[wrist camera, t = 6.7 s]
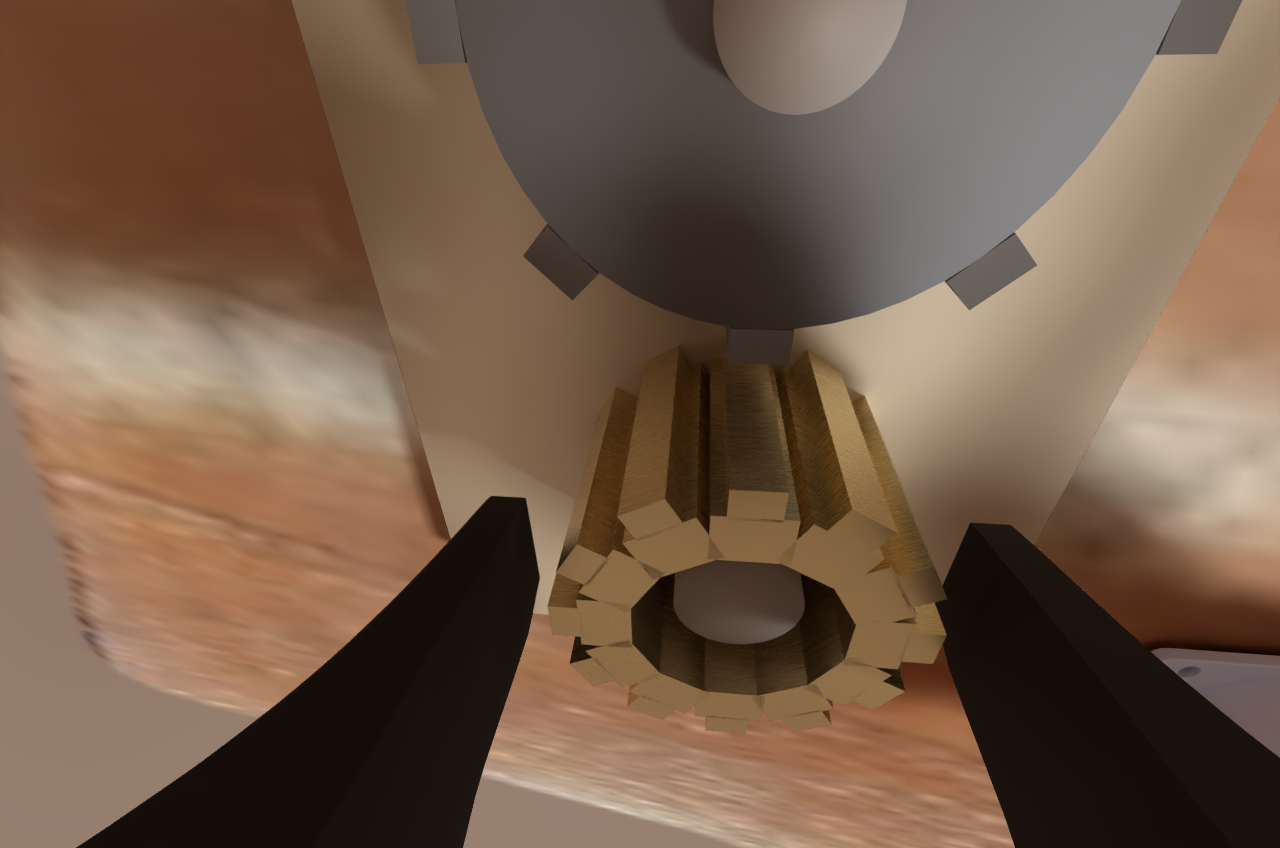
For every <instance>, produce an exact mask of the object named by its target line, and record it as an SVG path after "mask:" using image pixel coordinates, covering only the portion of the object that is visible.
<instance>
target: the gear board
mask: <svg viewBox="0 0 1280 848" xmlns="http://www.w3.org/2000/svg"><path fill="white" fill-rule="evenodd" d="M291 1H292V4H293V8H294V11H295V15H296V18H297V21H298V25H299V28H300V32H301V35H302V38H303V42H304V45H305V48H306V52H307V55H308V59H309V62H310V65H311V69H312V72H313V75H314V79H315V82H316V86H317V89H318V92H319V96H320V99H321V102H322V106H323V109H324V113H325V116H326V119H327V123H328V126H329V129H330V133H331V136H332V140H333V143H334V146H335V150H336V153H337V157H338V160H339V163H340V167H341V170H342V173H343V177H344V180H345V184H346V187H347V190H348V194H349V197H350V200H351V204H352V207H353V211H354V214H355V217H356V221H357V224H358V227H359V231H360V234H361V238H362V241H363V244H364V248H365V251H366V254H367V258H368V261H369V265H370V268H371V271H372V275H373V278H374V282H375V285H376V288H377V292H378V295H379V298H380V302H381V305H382V309H383V312H384V315H385V319H386V322H387V325H388V329H389V332H390V336H391V339H392V342H393V346H394V349H395V352H396V356H397V359H398V363H399V366H400V369H401V373H402V376H403V379H404V383H405V386H406V390H407V393H408V396H409V400H410V403H411V406H412V410H413V413H414V417H415V420H416V423H417V427H418V430H419V434H420V437H421V440H422V444H423V447H424V450H425V454H426V457H427V461H428V464H429V467H430V471H431V474H432V477H433V481H434V484H435V488H436V491H437V494H438V498H439V501H440V504H441V508H442V511H443V515H444V518H445V521H446V525H447V528H448V531H449V535H450V538H452V537H453V536H454V535H455V534H456V533H457V532H458V531H459V530H460V529H461V527H462V526H463V525H464V524H465V523H466V522H467V521H468V520H469V518H470V517H471V516H472V515H473V514H474V513H475V512H476V511H477V510H478V508H479V507H480V506H481V505H482V504H483V503H484V502H485V501H486V500H487V499H488V498H489V497H490V496H503V497H521V498H526V501H527V507H528V513H529V518H530V524H531V529H532V535H533V541H534V546H535V552H536V558H537V563H538V569H539V575H540V581H539V585H538V590H537V595H536V600H535V605H534V610H533V613H534V614H548V615H549V613H548V607H547V606H548V602H549V598H550V594H551V591H552V587H553V583H554V580H555V576H556V570H557V566H558V563H559V559H560V555H561V552H562V548H563V544H564V541H565V537H566V533H567V530H568V526H569V522H570V519H571V515H572V511H573V508H574V504H575V500H576V496H577V493H578V489H579V485H580V482H581V478H582V474H583V471H584V467H585V463H586V460H587V456H588V452H589V449H590V445H591V441H592V438H593V434H594V430H595V427H596V423H597V419H598V416H599V412H600V410H601V409H602V407H603V406H604V404H605V403H606V401H607V400H608V398H609V396H610V395H611V393H612V392H613V390H614V389H615V387H618V388H620V389H622V390H624V391H626V392H628V393H630V394H632V395H633V396H635V397H637V396H638V394H639V393H640V388H641V383H642V377H643V372H644V366H645V361H647V360H649V359H651V358H653V357H655V356H658V355H660V354H662V353H664V352H666V351H668V350H670V349H672V348H674V347H676V346H680V348H681V349H682V351H683V353H684V354H685V356H686V358H687V359H688V361H689V363H690V364H694V363H696V362H698V361H700V360H701V362H702V363H703V365H704V367H705V368H706V370H707V372H708V373H710V358H714V359H722V347H723V336H726V346H727V363H733V364H763V365H773V367H774V372H775V371H776V370H777V368H778V367H779V366H780V365H786V366H788V367H790V368H792V367H793V365H794V364H795V363H796V362H797V361H798V360H799V358H800V357H801V356H802V355H803V354H804V353H805V351H806V350H809V351H811V352H812V353H814V354H816V355H818V356H819V357H821V358H823V359H824V360H826V361H828V362H830V363H831V364H833V365H835V366H836V367H838V368H839V369H840V372H841V375H842V378H843V381H844V383H845V386H846V389H847V392H848V395H849V398H850V400H851V401H854V400H856V399H859V398H861V397H864V396H865V397H866V399H867V401H868V404H869V406H870V408H871V410H872V413H873V415H874V417H875V419H876V422H877V424H878V426H879V429H880V431H881V434H882V436H883V439H884V441H885V444H886V446H887V449H888V451H889V454H890V456H891V459H892V461H893V464H894V466H895V469H896V471H897V474H898V476H899V479H900V481H901V484H902V486H903V489H904V491H905V494H906V496H907V499H908V501H909V504H910V506H911V509H912V511H913V514H914V516H915V519H916V521H917V524H918V526H919V529H920V531H921V534H922V537H923V539H924V542H925V544H926V547H927V549H928V552H929V554H930V557H931V559H932V562H933V564H934V567H935V569H936V572H937V574H938V577H939V579H940V582H941V584H942V585H943V583H944V581H945V579H946V576H947V574H948V572H949V569H950V567H951V565H952V563H953V560H954V558H955V556H956V554H957V551H958V549H959V547H960V544H961V542H962V540H963V538H964V535H965V533H966V531H967V529H968V526H969V524H970V523H987V524H1005V525H1012V526H1013V527H1014V528H1015V529H1016V530H1017V531H1018V532H1020V533H1021V534H1022V535H1023V536H1024V537H1025V538H1026V539H1028V540H1029V541H1030V542H1031V543H1032V544H1033V545H1035V543H1036V541H1037V539H1038V538H1039V536H1040V534H1041V532H1042V530H1043V529H1044V527H1045V525H1046V523H1047V521H1048V519H1049V518H1050V516H1051V514H1052V512H1053V510H1054V508H1055V507H1056V505H1057V503H1058V501H1059V499H1060V497H1061V496H1062V494H1063V492H1064V490H1065V488H1066V487H1067V485H1068V483H1069V481H1070V479H1071V477H1072V476H1073V474H1074V472H1075V470H1076V468H1077V466H1078V465H1079V463H1080V461H1081V459H1082V457H1083V455H1084V454H1085V452H1086V450H1087V448H1088V446H1089V445H1090V443H1091V441H1092V439H1093V437H1094V435H1095V434H1096V432H1097V430H1098V428H1099V426H1100V424H1101V423H1102V421H1103V419H1104V417H1105V415H1106V413H1107V412H1108V410H1109V408H1110V406H1111V404H1112V403H1113V401H1114V399H1115V397H1116V395H1117V393H1118V392H1119V390H1120V388H1121V386H1122V384H1123V382H1124V381H1125V379H1126V377H1127V375H1128V373H1129V372H1130V370H1131V368H1132V366H1133V364H1134V362H1135V361H1136V359H1137V357H1138V355H1139V353H1140V351H1141V350H1142V348H1143V346H1144V344H1145V342H1146V340H1147V339H1148V337H1149V335H1150V333H1151V331H1152V330H1153V328H1154V326H1155V324H1156V322H1157V320H1158V319H1159V317H1160V315H1161V313H1162V311H1163V309H1164V308H1165V306H1166V304H1167V302H1168V300H1169V298H1170V297H1171V295H1172V293H1173V291H1174V289H1175V288H1176V286H1177V284H1178V282H1179V280H1180V278H1181V277H1182V275H1183V273H1184V271H1185V269H1186V267H1187V266H1188V264H1189V262H1190V260H1191V258H1192V256H1193V255H1194V253H1195V251H1196V249H1197V247H1198V246H1199V244H1200V242H1201V240H1202V238H1203V236H1204V235H1205V233H1206V231H1207V229H1208V227H1209V225H1210V224H1211V222H1212V220H1213V218H1214V216H1215V214H1216V213H1217V211H1218V209H1219V207H1220V205H1221V204H1222V202H1223V200H1224V198H1225V196H1226V194H1227V193H1228V191H1229V189H1230V187H1231V185H1232V183H1233V182H1234V180H1235V178H1236V176H1237V174H1238V172H1239V171H1240V169H1241V167H1242V165H1243V163H1244V162H1245V160H1246V158H1247V156H1248V154H1249V152H1250V151H1251V149H1252V147H1253V145H1254V143H1255V141H1256V140H1257V138H1258V136H1259V134H1260V132H1261V130H1262V129H1263V127H1264V125H1265V123H1266V121H1267V120H1268V118H1269V116H1270V114H1271V112H1272V110H1273V109H1274V107H1275V105H1276V103H1277V101H1278V99H1279V98H1280V0H291ZM934 603H935V602H934ZM673 604H674V609H675V612H676V614H677V616H678V618H679V619H680V620H681V622H682V623H683V624H684V625H685V626H686V627H688V628H689V629H690V630H692V631H693V632H695V633H696V634H698V635H701V636H703V637H705V638H708V639H711V640H714V641H718V642H723V643H730V644H752V643H759V642H764V641H768V640H771V639H774V638H776V637H779V636H781V635H783V634H785V633H786V632H788V631H789V630H791V629H792V628H793V627H794V626H795V625H796V624H797V623H798V622H799V620H800V619H801V617H802V615H803V612H804V607H805V601H804V594H803V588H802V581H801V575H800V572H798V571H796V570H794V569H791V568H789V567H787V566H785V565H783V564H773V563H758V562H742V561H727V560H714V561H711V562H708V563H705V564H702V565H698V566H695V567H692V568H689V569H686V570H682V571H679V572H676V573H675V582H674V598H673Z"/></svg>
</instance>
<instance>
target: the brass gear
mask: <svg viewBox="0 0 1280 848" xmlns="http://www.w3.org/2000/svg"><path fill="white" fill-rule="evenodd" d="M714 560H727V561H742V562H758V563H773V564H783V565H785V566H787V567H789V568H791V569H794V570H796V571H798V572H800V575H801V581H802V588H803V594H804V601H805V607H804V612H803V615H802V617H801V619H800V620H799V622H798V623H797V624H796V625H795V626H794V627H793V628H792V629H791V630H789V631H788V632H786V633H785V634H783V635H781V636H779V637H776V638H774V639H771V640H768V641H764V642H759V643H752V644H730V643H723V642H718V641H714V640H711V639H708V638H705V637H703V636H701V635H698V634H696V633H695V632H693V631H692V630H690V629H689V628H688V627H686V626H685V625H684V624H683V623H682V622H681V620H680V619H679V618H678V616H677V614H676V612H675V609H674V604H673V598H674V582H675V573H676V572H679V571H682V570H686V569H689V568H692V567H695V566H698V565H702V564H705V563H708V562H711V561H714ZM946 599H947V597H946V594H945V592H944V589H943V587H942V584H941V582H940V579H939V577H938V574H937V572H936V569H935V567H934V564H933V562H932V559H931V557H930V554H929V552H928V549H927V547H926V544H925V542H924V539H923V537H922V534H921V531H920V529H919V526H918V524H917V521H916V519H915V516H914V514H913V511H912V509H911V506H910V504H909V501H908V499H907V496H906V494H905V491H904V489H903V486H902V484H901V481H900V479H899V476H898V474H897V471H896V469H895V466H894V464H893V461H892V459H891V456H890V454H889V451H888V449H887V446H886V444H885V441H884V439H883V436H882V434H881V431H880V429H879V426H878V424H877V422H876V419H875V417H874V415H873V413H872V410H871V408H870V406H869V404H868V401H867V399H866V397H865V396H864V397H861V398H859V399H856V400H854V401H851V400H850V398H849V395H848V392H847V389H846V386H845V383H844V381H843V378H842V375H841V372H840V369H839V368H838V367H836V366H835V365H833V364H831V363H830V362H828V361H826V360H824V359H823V358H821V357H819V356H818V355H816V354H814V353H812V352H811V351H809V350H806V351H805V353H804V354H803V355H802V356H801V357H800V358H799V360H798V361H797V362H796V363H795V364H794V365H793V367H792V368H790V367H788V366H786V365H780V366H779V367H778V368H777V370H776V371H775V372H774V367H773V365H763V364H733V363H727V346H726V336H723V347H722V359H714V358H710V373H708V372H707V370H706V368H705V367H704V365H703V363H702V362H701V360H700V361H698V362H696V363H694V364H690V363H689V361H688V359H687V358H686V356H685V354H684V353H683V351H682V349H681V348H680V346H676V347H674V348H672V349H670V350H668V351H666V352H664V353H662V354H660V355H658V356H655V357H653V358H651V359H649V360H647V361H645V366H644V372H643V377H642V383H641V388H640V393H639V394H638V396H637V397H635V396H633V395H632V394H630V393H628V392H626V391H624V390H622V389H620V388H618V387H615V389H614V390H613V392H612V393H611V395H610V396H609V398H608V400H607V401H606V403H605V404H604V406H603V407H602V409H601V410H600V412H599V416H598V419H597V423H596V427H595V430H594V434H593V438H592V441H591V445H590V449H589V452H588V456H587V460H586V463H585V467H584V471H583V474H582V478H581V482H580V485H579V489H578V493H577V496H576V500H575V504H574V508H573V511H572V515H571V519H570V522H569V526H568V530H567V533H566V537H565V541H564V544H563V548H562V552H561V555H560V559H559V563H558V566H557V570H556V576H555V580H554V583H553V587H552V591H551V594H550V598H549V602H548V606H547V607H548V613H549V619H550V625H551V630H552V635H565V636H575V641H574V645H573V650H572V655H571V660H570V665H571V666H572V667H573V668H574V669H575V670H577V671H578V672H579V673H580V674H581V675H582V676H583V677H584V678H585V679H586V680H587V681H588V682H589V683H590V684H591V685H592V686H596V685H600V684H604V683H608V682H612V681H616V682H617V683H618V684H619V685H620V686H621V687H624V686H628V685H630V689H629V697H628V706H627V707H629V708H632V709H634V710H637V711H639V712H642V713H645V714H647V715H650V716H652V717H655V718H657V719H660V720H663V719H664V718H666V717H667V716H668V715H669V714H671V713H672V712H673V711H674V710H677V711H680V712H682V713H685V714H686V713H687V712H688V711H689V710H691V709H692V708H693V707H695V716H701V717H706V730H709V731H720V732H731V733H742V734H746V729H747V723H748V721H757V722H760V718H761V713H762V712H763V713H764V714H765V715H766V716H767V718H768V719H769V720H770V721H774V720H779V719H782V720H783V722H784V723H785V724H786V725H787V726H788V728H789V729H790V730H791V731H792V732H794V731H800V730H805V729H811V728H816V727H822V726H827V725H831V719H830V713H829V710H831V709H833V703H832V701H833V702H836V703H838V704H840V705H845V704H846V703H848V702H850V701H851V700H852V701H854V702H856V703H858V704H861V705H863V706H865V707H868V708H870V709H872V710H874V709H876V708H878V707H879V706H881V705H883V704H885V703H886V702H888V701H890V700H891V699H893V698H895V697H896V696H898V695H900V694H902V693H903V692H905V689H904V685H903V682H902V678H901V675H900V671H899V666H900V663H901V662H914V663H927V664H933V663H934V661H935V659H936V657H937V655H938V652H939V650H940V648H941V646H942V644H943V642H944V640H945V638H946V636H947V635H946V632H945V629H944V627H943V624H942V621H941V619H940V616H939V613H938V611H937V608H936V605H935V603H934V602H938V601H942V600H946Z"/></svg>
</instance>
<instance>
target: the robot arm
mask: <svg viewBox="0 0 1280 848" xmlns="http://www.w3.org/2000/svg"><path fill="white" fill-rule="evenodd" d="M539 581H540V575H539V569H538V563H537V558H536V552H535V546H534V541H533V535H532V529H531V524H530V518H529V513H528V507H527V501H526V498H521V497H503V496H490V497H489V498H488V499H487V500H486V501H485V502H484V503H483V504H482V505H481V506H480V507H479V508H478V510H477V511H476V512H475V513H474V514H473V515H472V516H471V517H470V518H469V520H468V521H467V522H466V523H465V524H464V525H463V526H462V527H461V529H460V530H459V531H458V532H457V533H456V534H455V535H454V536H453V537H452V538H451V540H450V541H449V542H448V543H447V544H446V545H445V546H444V547H443V548H442V549H441V550H440V552H439V553H438V554H437V555H436V556H435V557H434V558H433V559H432V560H431V561H430V562H429V563H428V564H427V565H426V566H425V567H424V568H423V570H422V571H421V572H420V573H419V574H418V575H417V576H416V577H415V578H414V579H413V580H412V581H411V582H410V583H409V584H408V585H407V586H406V587H405V588H404V589H403V590H402V591H401V592H400V593H399V594H398V595H397V596H396V597H395V598H394V599H393V600H392V601H391V602H390V603H389V604H388V605H387V606H386V607H385V608H384V609H383V610H382V611H381V612H380V613H379V614H378V615H377V616H376V617H375V618H374V619H373V620H372V621H371V622H369V623H368V624H367V625H366V626H365V627H364V628H363V629H362V630H361V631H360V632H359V633H358V634H357V635H356V636H355V637H354V638H353V639H352V640H351V641H350V642H348V643H347V644H346V645H345V646H344V647H343V648H342V649H341V650H340V651H338V652H337V653H336V654H335V655H334V656H333V657H332V658H331V659H330V660H328V661H327V662H326V663H325V664H324V665H323V666H322V667H320V668H319V669H318V670H317V671H316V672H315V673H313V674H312V675H311V676H310V677H309V678H308V679H306V680H305V681H304V682H303V683H302V684H300V685H299V686H298V687H297V688H296V689H294V690H293V691H292V692H291V693H290V694H288V695H287V696H286V697H285V698H284V699H282V700H281V701H280V702H279V703H277V704H276V705H275V706H274V707H272V708H271V709H270V710H269V711H267V712H266V713H265V714H263V715H262V716H261V717H260V718H258V719H257V720H256V721H254V722H253V723H252V724H251V725H250V726H248V727H247V728H245V729H244V730H243V731H242V732H240V733H239V734H238V735H236V736H235V737H234V738H233V739H231V740H230V741H229V742H227V743H226V744H225V745H224V746H222V747H221V748H220V749H218V750H217V751H215V752H214V753H213V754H211V755H210V756H209V757H207V758H206V759H205V760H203V761H202V762H201V763H199V764H198V765H196V766H195V767H194V768H192V769H191V770H189V771H188V772H187V773H185V774H184V775H182V776H181V777H179V778H178V779H176V780H175V781H174V782H172V783H171V784H169V785H168V786H166V787H165V788H164V789H162V790H161V791H159V792H158V793H156V794H155V795H153V796H152V797H150V798H149V799H147V800H146V801H145V802H143V803H142V804H140V805H139V806H137V807H136V808H134V809H133V810H132V811H130V812H129V813H127V814H126V815H125V816H123V817H122V818H120V819H119V820H117V821H116V822H114V823H113V824H111V825H110V826H108V827H107V828H105V829H104V830H102V831H101V832H99V833H98V834H96V835H95V836H93V837H92V838H90V839H89V840H87V841H86V842H84V843H83V844H81V845H80V846H78V847H77V848H463V845H464V841H465V837H466V833H467V829H468V824H469V820H470V816H471V812H472V808H473V804H474V800H475V796H476V792H477V789H478V785H479V782H480V779H481V775H482V772H483V768H484V765H485V762H486V759H487V756H488V753H489V750H490V747H491V744H492V741H493V738H494V735H495V732H496V729H497V726H498V723H499V720H500V717H501V715H502V712H503V709H504V706H505V703H506V700H507V697H508V694H509V691H510V688H511V685H512V682H513V679H514V676H515V673H516V670H517V667H518V664H519V661H520V658H521V655H522V652H523V649H524V646H525V642H526V639H527V636H528V633H529V628H530V624H531V619H532V615H533V610H534V605H535V600H536V595H537V590H538V585H539ZM942 587H943V589H944V592H945V594H946V597H947V599H946V600H942V601H938V602H935V605H936V608H937V611H938V613H939V616H940V619H941V621H942V624H943V627H944V629H945V632H946V635H947V636H946V638H945V640H944V642H943V646H944V650H945V654H946V658H947V662H948V666H949V669H950V672H951V674H952V677H953V680H954V683H955V686H956V688H957V691H958V694H959V696H960V699H961V702H962V705H963V707H964V710H965V713H966V715H967V718H968V721H969V723H970V726H971V729H972V731H973V734H974V737H975V739H976V742H977V744H978V747H979V750H980V752H981V755H982V758H983V760H984V763H985V766H986V768H987V771H988V773H989V776H990V779H991V781H992V784H993V787H994V789H995V792H996V795H997V797H998V800H999V803H1000V805H1001V808H1002V810H1003V813H1004V816H1005V819H1006V822H1007V825H1008V828H1009V831H1010V834H1011V837H1012V839H1013V842H1014V845H1015V848H1280V656H1275V655H1261V654H1247V653H1233V652H1219V651H1206V650H1192V649H1178V648H1159V649H1155V650H1152V651H1150V650H1148V649H1147V648H1146V647H1145V646H1144V645H1143V644H1142V643H1140V642H1139V641H1138V640H1137V639H1136V638H1135V637H1134V636H1133V635H1131V634H1130V633H1129V632H1128V631H1127V630H1126V629H1125V628H1124V627H1122V626H1121V625H1120V624H1119V623H1118V622H1117V621H1116V620H1115V619H1114V618H1112V617H1111V616H1110V615H1109V614H1108V613H1107V612H1106V611H1105V610H1104V609H1103V608H1101V607H1100V606H1099V605H1098V604H1097V603H1096V602H1095V601H1094V600H1093V599H1092V598H1091V597H1089V596H1088V595H1087V594H1086V593H1085V592H1084V591H1083V590H1082V589H1081V588H1080V587H1079V586H1078V585H1076V584H1075V583H1074V582H1073V581H1072V580H1071V579H1070V578H1069V577H1068V576H1067V575H1066V574H1065V573H1063V572H1062V571H1061V570H1060V569H1059V568H1058V567H1057V566H1056V565H1055V564H1054V563H1053V562H1052V561H1051V560H1049V559H1048V558H1047V557H1046V556H1045V555H1044V554H1043V553H1042V552H1041V551H1040V550H1039V549H1037V548H1036V547H1035V546H1034V545H1033V544H1032V543H1031V542H1030V541H1029V540H1028V539H1026V538H1025V537H1024V536H1023V535H1022V534H1021V533H1020V532H1018V531H1017V530H1016V529H1015V528H1014V527H1013V526H1012V525H1005V524H987V523H970V524H969V526H968V529H967V531H966V533H965V535H964V538H963V540H962V542H961V544H960V547H959V549H958V551H957V554H956V556H955V558H954V560H953V563H952V565H951V567H950V569H949V572H948V574H947V576H946V579H945V581H944V583H943V585H942Z"/></svg>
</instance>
